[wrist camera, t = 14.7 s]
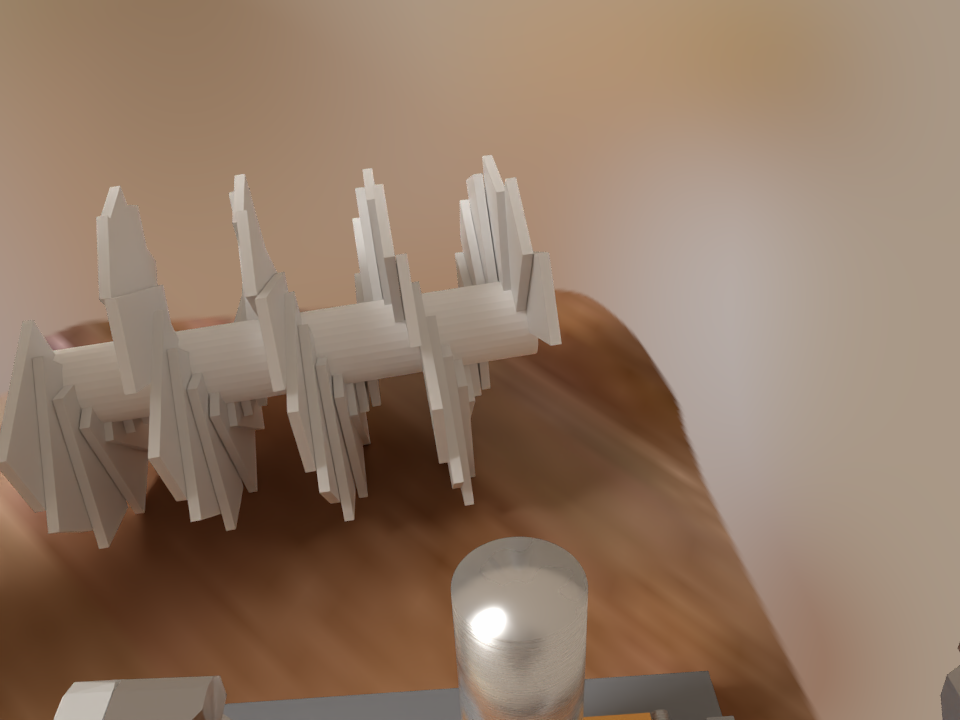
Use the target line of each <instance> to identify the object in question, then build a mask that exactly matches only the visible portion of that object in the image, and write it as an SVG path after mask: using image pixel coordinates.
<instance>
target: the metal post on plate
mask: <svg viewBox="0 0 960 720" xmlns="http://www.w3.org/2000/svg"><path fill="white" fill-rule="evenodd" d="M451 598H452V610H453V622H454V635H455V647H456V659H457V671H458V684H459V696H460V708H461V720H671V718H670V714H669V712H668V711H666V710H662V709H660V710H655V711H653V712H651V713H636V714H621V715H607V716H593V717H583V711H584V684H585V657H586V630H587V603H588V582H587V578H586V575H585V572H584V570H583V568H582V567H581V565H580V564H579V562H578V561H577V560H576V559H575V558H574V557H573V556H572V555H571V554H570V553H569V552H567V551H566V550H564V549H563V548H561V547H559V546H557V545H556V544H553V543H551V542H548V541H545V540H541V539H537V538H531V537H508V538H502V539H497V540H494V541H491V542H488V543H486V544H483V545H481V546H480V547H478V548H476V549H474V550H473V551H472V552H470V553H469V554H468V555H467V556H466V557H465V558H464V559H463V560H462V561H461V562H460V563H459V565H458V567H457V568H456V570H455V572H454V575H453V577H452V582H451Z"/></svg>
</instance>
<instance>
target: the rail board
mask: <svg viewBox="0 0 960 720" xmlns="http://www.w3.org/2000/svg"><path fill="white" fill-rule="evenodd" d="M660 709H662V710H666V711H668V712H669V714H670V718H671V720H706V718H708V717H722V713H721V710H720V707H719V704H718V701H717V698H716V694H715V691H714V688H713V685H712V682H711V679H710V675H709V672H708V671H699V672H685V673H670V674H656V675H641V676H626V677H612V678H597V679H585V684H584V711H583V717H593V716H607V715H621V714H636V713H651V712H653V711H655V710H660ZM223 714H224V715H226V716H227V717H229V718H230V719H232V720H461V708H460V696H459V688H451V689H437V690H422V691H408V692H393V693H378V694H364V695H349V696H335V697H320V698H305V699H291V700H276V701H262V702H247V703H233V704H225V706H224V711H223Z"/></svg>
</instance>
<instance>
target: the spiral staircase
mask: <svg viewBox="0 0 960 720" xmlns="http://www.w3.org/2000/svg"><path fill="white" fill-rule="evenodd" d="M482 159H483V171H484V182H485V189H484V183H483V176H482V173H481V174H475V175H472V176H471V177H469V178H468V179H467V180H466V182H467V190H468V196H469V200H468V199H467V200H461V201H460V238H461V243H462V249H463V252H459V253H455V258H456V268H457V277H458V286H459V288H454V289H448V290H442V291H435V292H429V293H423V294H421V290H420V285H419V282H412V283H411V276H410V270H409V264H408V258H407V254H399V255H396V261H395V254H394V249H393V242H392V237H391V231H390V224H389V218H388V212H387V206H386V200H385V195H384V188H383V184H378V185H375V184H374V178H373V171H372V168H369V169H363V177H364V184H365V188H364V187H362V188H355V191H356V198H357V203H358V210H359V216H360V218H353V219H352V220H353V226H354V233H355V241H356V247H357V255H358V262H359V268H360V273H356V274H354V275H355V287H356V298H357V304H351V305H345V306H339V307H332V308H326V309H319V310H313V311H306V312H300V311H299V307H298V304H297V300H296V296H295V292H288V288H287V283H286V277H285V272H281V273H277V271H276V269H275V267H274V265H273V263H272V261H271V259H270V257H269V255H268V253H267V251H266V248H265V245H264V241H263V237H262V234H261V230H260V227H259V223H258V219H257V216H256V212H255V209H254V205H253V202H252V198H251V194H250V188H249V187H248V184H247V180H246V177H245V174H241V175H235V180H234V192H230V193H229V197H230V201H231V207H232V211H233V220H232V221H233V222H232V223H233V227H234V230H235V233H236V236H237V240H238V246H239V254H240V263H241V273H242V282H243V284H242V297H241V300H240V303H239V307H238V311H237V314H236V317H235V321H234V323H229V324H222V325H216V326H210V327H203V328H197V329H190V330H184V331H177V332H175V331H174V329H173V327H172V325H171V321H170V316H169V311H168V306H167V302H166V297H165V292H164V287H163V285H158V284H157V270H156V260H155V259H154V258H153V256H152V255H151V253H150V252H149V250H148V249H147V247H146V242H145V237H144V233H143V228H142V223H141V218H140V213H139V209H138V206H136V205H127V203H126V200H125V198H124V195H123V192H122V189H121V187H120V186H116V187H110V189H109V192H108V196H107V199H106V202H105V205H104V208H103V211H102V214H101V216H99V217H96V221H97V249H98V278H99V279H98V280H99V300H100V301H101V302H102V303H103V304H104V305H105V306H106V310H107V315H108V320H109V324H110V329H111V333H112V338H113V342H106V343H100V344H94V345H87V346H81V347H74V348H68V349H61V350H55V351H53V350H52V349H51V347H50V346H49V344H48V342H47V341H46V339H45V338H44V336H43V334H42V333H41V331H40V330H39V328H38V327H37V325H36V323H35V322H34V320H28V321H23V322H22V327H21V332H20V337H19V342H18V347H17V352H16V357H15V362H14V367H13V372H12V377H11V382H10V387H9V392H8V396H7V401H6V406H5V411H4V416H3V421H2V426H1V431H0V471H1V472H2V473H3V475H4V476H5V477H6V478H7V479H8V481H9V482H10V483H11V484H12V485H13V487H14V488H15V489H16V490H17V491H18V493H19V494H20V495H21V496H22V498H23V499H24V500H25V501H26V502H27V504H28V505H29V506H30V507H31V508H32V510H33V511H34V512H35V513H36V512H42V511H46V514H47V525H48V534H50V533H79V532H88V531H94V534H95V537H96V540H97V544H98V547H99V549H102V548H108V547H110V544H111V542H112V540H113V538H114V536H115V534H116V532H117V530H118V528H119V526H120V524H121V521H122V519H123V517H124V515H125V513H126V511H127V509H128V505H127V502H128V504H129V505H130V507H131V508H132V510H133V511H134V513H135V514H140V513H145V501H146V487H147V473H148V460H149V461H150V463H151V464H152V466H153V467H154V469H155V470H156V471H157V473H158V474H159V476H160V477H161V479H162V480H163V482H164V483H165V485H166V486H167V488H168V489H169V491H170V492H171V494H172V495H173V497H174V498H175V500H176V501H183V500H187V499H188V506H189V513H190V520H191V522H193V521H199V520H203V519H206V518H210V517H213V516H216V515H219V514H222V518H223V521H224V525H225V528H226V531H229V530H235V529H236V526H237V520H238V514H239V509H240V503H241V498H242V492H243V483H242V481H243V482H244V484H245V486H246V488H247V490H248V492H249V493H250V492H256V491H257V466H256V441H255V430H262V429H265V427H264V420H263V413H262V406H266V405H267V397H272V396H278V395H284V394H287V414H288V417H289V421H290V424H291V427H292V430H293V434H294V437H295V440H296V443H297V447H298V450H299V453H300V456H301V459H302V463H303V466H304V469H305V472H306V473H307V472H312V471H316V470H317V478H318V486H319V493H320V494H321V495H322V496H323V497H324V498H325V499H326V500H327V501H328V502H329V503H330V504H333V503H338V502H340V499H341V505H342V510H343V515H344V520H345V521H350V520H354V517H355V493H356V489H355V483H356V487H357V491H358V495H359V498H363V497H368V491H367V481H366V472H365V462H364V452H363V445H367V444H371V443H370V436H369V430H368V423H367V416H366V412H367V411H369V394H370V396H371V402H372V407H374V406H380V405H381V398H380V389H379V380H378V379H383V378H389V377H395V376H401V375H407V374H413V373H420V372H423V374H424V380H425V386H426V391H427V397H428V403H429V408H430V414H431V420H432V425H433V431H434V437H435V442H436V448H437V454H438V459H439V464H441V463H447V462H448V467H449V473H450V479H451V485H452V489H455V488H461V491H462V496H463V500H464V504H465V506H466V505H472V504H474V499H473V492H472V485H471V478H470V477H476V476H475V465H474V453H473V441H472V430H471V415H472V412H473V408H474V405H475V396H481V395H482V394H481V388H482V390H484V389H490V388H491V386H490V375H489V364H488V361H494V360H500V359H506V358H512V357H518V356H524V355H531V354H536V353H537V351H538V338H539V339H541V340H542V341H544V342H546V343H547V344H549V345H551V346H552V345H558V344H562V343H561V336H560V328H559V321H558V314H557V306H556V299H555V292H554V285H553V277H552V270H551V263H550V255H549V252H533V250H532V245H531V241H530V237H529V232H528V228H527V224H526V219H525V215H524V211H523V206H522V202H521V198H520V193H519V189H518V185H517V180H516V178H509V179H505V186H504V184H503V181H502V179H501V177H500V174H499V172H498V169H497V167H496V164H495V162H494V159H493V157H492V155H489V156H483V157H482ZM469 203H470V205H469ZM399 286H400V287H399ZM400 292H401V294H400ZM480 384H481V386H480ZM352 471H353V472H352ZM353 475H354V478H353ZM354 479H355V483H354ZM339 494H340V496H339ZM126 501H127V502H126ZM220 511H221V512H220Z"/></svg>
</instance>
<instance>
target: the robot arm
mask: <svg viewBox="0 0 960 720" xmlns="http://www.w3.org/2000/svg"><path fill="white" fill-rule="evenodd" d="M958 650H959V651H960V643H959V646H958ZM226 696H227V694H226V692H225V689H224V686H223V683H222V680H221V677H220V676H202V677H176V678H150V679H122V680H104V681H86V682H74V683H73V684H72V686H71V687H70V688H69V690H68V691H67V692H66V693H65V695H64V696H63V697H62V699H61V702H60V704H59V707H58V709H57V712H56V714H55V717H54V719H53V720H232V719H230V718H229V717H227V716H226V715H224V714H223V711H224V706H225V701H226ZM941 705H942V717H943V720H960V665H959V666H958V667H957V668H955V669H954V670H953V671H951V672H950V673H949V674H947V677H946V680H945V683H944V686H943V689H942V692H941Z"/></svg>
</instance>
